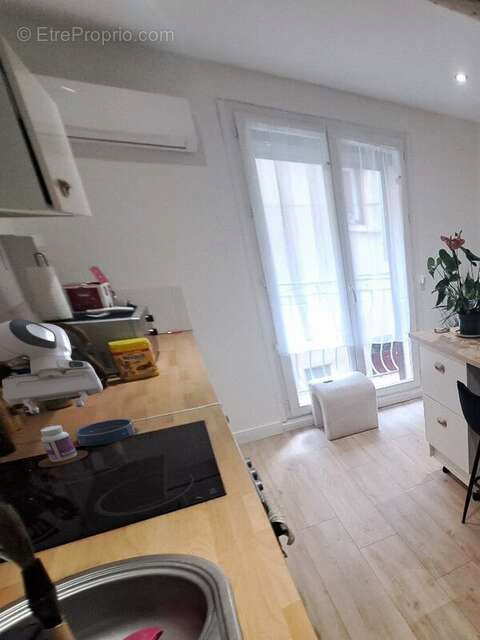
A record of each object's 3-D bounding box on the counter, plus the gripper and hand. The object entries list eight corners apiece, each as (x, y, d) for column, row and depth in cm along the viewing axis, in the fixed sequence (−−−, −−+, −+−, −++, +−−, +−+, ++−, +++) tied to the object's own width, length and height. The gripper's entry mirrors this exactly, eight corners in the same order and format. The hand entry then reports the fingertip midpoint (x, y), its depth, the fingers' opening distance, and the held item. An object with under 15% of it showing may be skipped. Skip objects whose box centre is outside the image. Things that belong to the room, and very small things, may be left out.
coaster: (38, 472, 113) (37, 470, 112) (38, 460, 119) (37, 458, 119) (90, 459, 120) (89, 457, 119) (87, 448, 126) (87, 447, 126)
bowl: (80, 451, 124) (75, 439, 123) (78, 438, 133) (73, 427, 131) (138, 437, 134) (134, 426, 132) (133, 426, 142) (129, 415, 140)
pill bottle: (79, 452, 123) (66, 422, 119) (75, 458, 119) (63, 428, 115) (52, 457, 119) (39, 427, 116) (48, 464, 116) (34, 433, 112)
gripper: (-5, 371, 119) (-2, 412, 115) (94, 361, 131) (100, 398, 127) (7, 382, 124) (10, 421, 120) (101, 371, 136) (107, 407, 132)
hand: (57, 409), depth 124 cm, fingers open, 8 cm apart
